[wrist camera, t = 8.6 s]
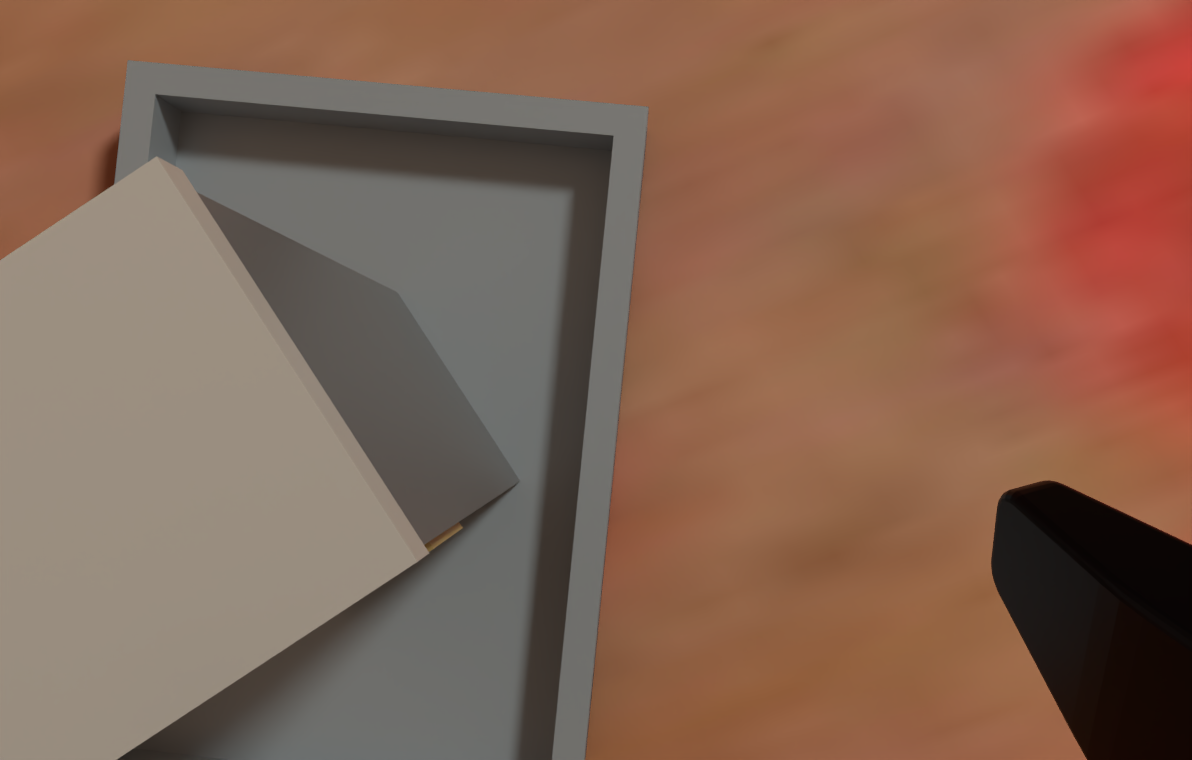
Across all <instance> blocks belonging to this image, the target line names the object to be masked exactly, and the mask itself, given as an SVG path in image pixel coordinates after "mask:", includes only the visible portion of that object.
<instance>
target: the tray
mask: <svg viewBox="0 0 1192 760" xmlns="http://www.w3.org/2000/svg"><path fill="white" fill-rule="evenodd" d="M648 108H649V107H644V106H633V105H622V104H611V103H599V102H588V101H577V100H566V99H555V98H544V97H532V96H521V95H510V94H499V93H488V92H476V91H465V90H454V89H443V88H432V87H420V86H409V85H398V84H387V83H376V82H364V81H353V80H342V79H331V78H320V77H308V76H297V75H286V74H275V73H264V72H252V71H241V70H230V69H219V68H208V67H196V66H185V65H174V64H163V63H152V62H140V61H129V60H128V64H127V73H126V82H125V91H124V100H123V109H122V118H121V127H120V136H119V146H118V155H117V164H116V173H115V182H114V184H116V183H117V182H119V181H120V180H122V179H123V178H125V177H126V176H128V175H129V174H131V173H132V172H134V171H135V170H137V169H138V168H140V167H141V166H143V165H144V164H146V163H147V162H149V161H150V160H152V159H153V158H155V157H156V156H157V157H159V158H161V159H163V160H164V161H166V162H168V163H170V164H172V165H174V166H176V167H178V168H179V169H181V170H183V172H184V173H185V175H186V177H187V178H188V180H189V181H190V183H191V184H192V186H193V187H194V189H195V191H196V192H198V193H200V194H202V195H204V196H206V197H208V198H210V199H212V200H214V201H216V202H218V203H220V204H222V205H224V206H226V207H228V208H230V209H232V210H234V211H236V212H238V213H240V214H242V215H244V216H246V217H248V218H250V219H252V220H254V221H256V222H258V223H260V224H262V225H264V226H266V227H268V228H270V229H272V230H274V231H276V232H278V233H280V234H282V235H284V236H286V237H288V238H290V239H292V240H294V241H296V242H298V243H300V244H302V245H304V246H306V247H308V248H310V249H312V250H314V251H316V252H318V253H320V254H322V255H324V256H326V257H328V258H330V259H332V260H334V261H336V262H338V263H340V264H342V265H344V266H346V267H348V268H350V269H352V270H354V271H356V272H358V273H360V274H362V275H364V276H366V277H368V278H370V279H372V280H374V281H376V282H378V283H380V284H382V285H384V286H386V287H388V288H390V289H392V290H394V291H396V292H398V294H399V295H400V297H401V298H402V300H403V302H404V303H405V305H406V306H407V308H408V309H409V311H410V312H411V314H412V315H413V317H414V318H415V320H416V322H417V323H418V325H419V326H420V328H421V329H422V331H423V332H424V334H425V335H426V337H427V338H428V340H429V341H430V343H431V345H432V346H433V348H434V349H435V351H436V352H437V354H438V355H439V357H440V358H441V360H442V361H443V363H444V365H445V366H446V368H447V369H448V371H449V372H450V374H451V375H452V377H453V378H454V380H455V381H456V383H457V384H458V386H459V388H460V389H461V391H462V392H463V394H464V395H465V397H466V398H467V400H468V401H469V403H470V404H471V406H472V408H473V409H474V411H475V412H476V414H477V415H478V417H479V418H480V420H481V421H482V423H483V424H484V426H485V427H486V429H487V431H488V432H489V434H490V435H491V437H492V438H493V440H494V441H495V443H496V444H497V446H498V447H499V449H500V451H501V452H502V454H503V455H504V457H505V458H506V460H507V461H508V463H509V464H510V466H511V467H512V469H513V471H514V472H515V474H516V475H517V477H518V478H519V480H520V482H518V483H517V484H515V485H514V486H512V487H511V488H509V489H508V490H506V491H505V492H503V493H502V494H500V495H499V496H497V497H496V498H494V499H493V500H491V501H490V502H488V503H487V504H485V505H483V506H482V507H480V508H479V509H477V510H476V511H474V512H473V513H471V514H470V515H468V516H467V517H465V518H464V519H462V520H461V521H459V523H460V524H461V526H462V527H463V528H462V529H461V530H459V531H458V532H456V533H455V534H454V535H452V536H451V537H449V538H448V539H447V540H445V541H444V542H442V543H441V544H440V545H438V546H437V547H435V548H434V549H433V550H431V551H430V552H429V554H428V555H426V556H425V557H424V558H422V559H421V560H419V561H418V562H417V563H415V564H413V565H412V566H410V567H409V568H407V569H406V570H404V571H403V572H401V573H400V574H398V575H397V576H395V577H394V578H392V579H391V580H389V581H388V582H386V583H385V584H383V585H382V586H380V587H378V588H377V589H375V590H374V591H372V592H371V593H369V594H368V595H366V596H365V597H363V598H362V599H360V600H359V601H357V602H356V603H354V604H353V605H351V606H350V607H348V608H347V609H345V610H343V611H342V612H340V613H339V614H337V615H336V616H334V617H333V618H331V619H330V620H328V621H327V622H325V623H324V624H322V625H321V626H319V627H318V628H316V629H315V630H313V631H311V632H310V633H308V634H307V635H305V636H304V637H302V638H301V639H299V640H298V641H296V642H295V643H293V644H292V645H290V646H289V647H287V648H286V649H284V650H283V651H281V652H280V653H278V654H276V655H275V656H273V657H272V658H270V659H269V660H267V661H266V662H264V663H263V664H261V665H260V666H258V667H257V668H255V669H254V670H252V671H251V672H249V673H248V674H246V675H245V676H243V677H241V678H240V679H238V680H237V681H235V682H234V683H232V684H231V685H229V686H228V687H226V688H225V689H223V690H222V691H220V692H219V693H217V694H216V695H214V696H213V697H211V698H210V699H208V700H206V701H205V702H203V703H202V704H200V705H199V706H197V707H196V708H194V709H193V710H191V711H190V712H188V713H187V714H185V715H184V716H182V717H181V718H179V719H178V720H176V721H175V722H173V723H171V724H170V725H168V726H167V727H165V728H164V729H162V730H161V731H159V732H158V733H156V734H155V735H153V736H152V737H150V738H149V739H147V740H146V741H144V742H143V743H141V744H140V745H138V746H136V747H135V748H133V749H132V750H130V751H129V752H127V753H126V754H124V755H123V756H121V757H120V758H118V759H117V760H585V757H586V747H587V737H588V726H589V716H590V706H591V696H592V686H593V676H594V665H595V655H596V645H597V635H598V625H599V615H600V604H601V594H602V584H603V574H604V564H605V554H606V543H607V533H608V523H609V513H610V503H611V493H612V482H613V472H614V462H615V452H616V442H617V432H618V421H619V411H620V401H621V391H622V381H623V371H624V361H625V350H626V340H627V330H628V320H629V310H630V300H631V289H632V279H633V269H634V259H635V249H636V239H637V228H638V218H639V208H640V198H641V188H642V178H643V167H644V157H645V147H646V137H647V124H648Z"/></svg>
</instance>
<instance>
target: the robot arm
mask: <svg viewBox="0 0 1192 760" xmlns="http://www.w3.org/2000/svg"><path fill="white" fill-rule="evenodd" d="M991 567H992V575H993V579H994V582H995V585H996V588H997V590H998V592H999V595H1000V597H1001V598H1002V600H1003V602H1004V604H1005V606H1006V608H1007V610H1008V612H1009V614H1010V616H1011V617H1012V619H1013V621H1014V623H1015V625H1016V627H1017V629H1018V631H1019V633H1020V635H1021V637H1022V638H1023V640H1024V642H1025V644H1026V646H1027V648H1028V650H1029V652H1030V654H1031V656H1032V657H1033V659H1034V661H1035V663H1036V665H1037V667H1038V669H1039V671H1040V673H1041V675H1042V677H1043V678H1044V680H1045V682H1046V684H1047V686H1048V688H1049V690H1050V692H1051V694H1052V696H1053V698H1054V699H1055V701H1056V703H1057V705H1058V707H1059V709H1060V711H1061V713H1062V715H1063V717H1064V718H1065V720H1066V722H1067V724H1068V726H1069V728H1070V730H1071V732H1072V733H1073V735H1074V737H1075V739H1076V741H1077V742H1078V744H1079V746H1080V748H1081V750H1082V751H1083V753H1084V755H1085V757H1086V758H1087V760H1192V545H1191V544H1189V543H1187V542H1185V541H1182V540H1180V539H1178V538H1176V537H1174V536H1172V535H1170V534H1168V533H1165V532H1163V531H1161V530H1159V529H1157V528H1155V527H1153V526H1151V525H1148V524H1146V523H1144V522H1142V521H1140V520H1138V519H1136V518H1134V517H1131V516H1129V515H1127V514H1125V513H1123V512H1121V511H1119V510H1117V509H1114V508H1112V507H1110V506H1108V505H1106V504H1104V503H1102V502H1100V501H1097V500H1095V499H1093V498H1091V497H1089V496H1087V495H1085V494H1083V493H1081V492H1078V491H1076V490H1074V489H1072V488H1070V487H1068V486H1066V485H1064V484H1061V483H1058V482H1055V481H1041V482H1037V483H1033V484H1030V485H1026V486H1022V487H1019V488H1015V489H1011V490H1008V491H1007V492H1005V493H1004V494H1003V495H1002V496H1001V498H1000V499H999V501H998V506H997V513H996V523H995V532H994V541H993V550H992V559H991Z"/></svg>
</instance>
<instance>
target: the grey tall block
mask: <svg viewBox="0 0 1192 760" xmlns="http://www.w3.org/2000/svg"><path fill="white" fill-rule="evenodd" d="M518 482H520V480H519V478H518V477H517V475H516V474H515V472H514V471H513V469H512V467H511V466H510V464H509V463H508V461H507V460H506V458H505V457H504V455H503V454H502V452H501V451H500V449H499V447H498V446H497V444H496V443H495V441H494V440H493V438H492V437H491V435H490V434H489V432H488V431H487V429H486V427H485V426H484V424H483V423H482V421H481V420H480V418H479V417H478V415H477V414H476V412H475V411H474V409H473V408H472V406H471V404H470V403H469V401H468V400H467V398H466V397H465V395H464V394H463V392H462V391H461V389H460V388H459V386H458V384H457V383H456V381H455V380H454V378H453V377H452V375H451V374H450V372H449V371H448V369H447V368H446V366H445V365H444V363H443V361H442V360H441V358H440V357H439V355H438V354H437V352H436V351H435V349H434V348H433V346H432V345H431V343H430V341H429V340H428V338H427V337H426V335H425V334H424V332H423V331H422V329H421V328H420V326H419V325H418V323H417V322H416V320H415V318H414V317H413V315H412V314H411V312H410V311H409V309H408V308H407V306H406V305H405V303H404V302H403V300H402V298H401V297H400V295H399V294H398V292H396V291H394V290H392V289H390V288H388V287H386V286H384V285H382V284H380V283H378V282H376V281H374V280H372V279H370V278H368V277H366V276H364V275H362V274H360V273H358V272H356V271H354V270H352V269H350V268H348V267H346V266H344V265H342V264H340V263H338V262H336V261H334V260H332V259H330V258H328V257H326V256H324V255H322V254H320V253H318V252H316V251H314V250H312V249H310V248H308V247H306V246H304V245H302V244H300V243H298V242H296V241H294V240H292V239H290V238H288V237H286V236H284V235H282V234H280V233H278V232H276V231H274V230H272V229H270V228H268V227H266V226H264V225H262V224H260V223H258V222H256V221H254V220H252V219H250V218H248V217H246V216H244V215H242V214H240V213H238V212H236V211H234V210H232V209H230V208H228V207H226V206H224V205H222V204H220V203H218V202H216V201H214V200H212V199H210V198H208V197H206V196H204V195H202V194H200V193H198V192H196V191H195V189H194V187H193V186H192V184H191V183H190V181H189V180H188V178H187V177H186V175H185V173H184V172H183V170H181V169H179V168H178V167H176V166H174V165H172V164H170V163H168V162H166V161H164V160H163V159H161V158H159V157H157V156H156V157H155V158H153V159H152V160H150V161H149V162H147V163H146V164H144V165H143V166H141V167H140V168H138V169H137V170H135V171H134V172H132V173H131V174H129V175H128V176H126V177H125V178H123V179H122V180H120V181H119V182H117V183H116V184H114V185H113V186H111V187H110V188H108V189H107V190H105V191H104V192H102V193H101V194H99V195H98V196H96V197H95V198H93V199H92V200H90V201H89V202H87V203H86V204H84V205H83V206H81V207H80V208H78V209H77V210H75V211H74V212H72V213H71V214H69V215H68V216H66V217H65V218H63V219H62V220H60V221H59V222H57V223H56V224H54V225H53V226H51V227H50V228H48V229H47V230H45V231H44V232H42V233H41V234H39V235H38V236H36V237H34V238H33V239H31V240H30V241H28V242H27V243H25V244H24V245H22V246H21V247H19V248H18V249H16V250H15V251H13V252H12V253H10V254H9V255H7V256H6V257H4V258H3V259H1V260H0V760H117V759H118V758H120V757H121V756H123V755H124V754H126V753H127V752H129V751H130V750H132V749H133V748H135V747H136V746H138V745H140V744H141V743H143V742H144V741H146V740H147V739H149V738H150V737H152V736H153V735H155V734H156V733H158V732H159V731H161V730H162V729H164V728H165V727H167V726H168V725H170V724H171V723H173V722H175V721H176V720H178V719H179V718H181V717H182V716H184V715H185V714H187V713H188V712H190V711H191V710H193V709H194V708H196V707H197V706H199V705H200V704H202V703H203V702H205V701H206V700H208V699H210V698H211V697H213V696H214V695H216V694H217V693H219V692H220V691H222V690H223V689H225V688H226V687H228V686H229V685H231V684H232V683H234V682H235V681H237V680H238V679H240V678H241V677H243V676H245V675H246V674H248V673H249V672H251V671H252V670H254V669H255V668H257V667H258V666H260V665H261V664H263V663H264V662H266V661H267V660H269V659H270V658H272V657H273V656H275V655H276V654H278V653H280V652H281V651H283V650H284V649H286V648H287V647H289V646H290V645H292V644H293V643H295V642H296V641H298V640H299V639H301V638H302V637H304V636H305V635H307V634H308V633H310V632H311V631H313V630H315V629H316V628H318V627H319V626H321V625H322V624H324V623H325V622H327V621H328V620H330V619H331V618H333V617H334V616H336V615H337V614H339V613H340V612H342V611H343V610H345V609H347V608H348V607H350V606H351V605H353V604H354V603H356V602H357V601H359V600H360V599H362V598H363V597H365V596H366V595H368V594H369V593H371V592H372V591H374V590H375V589H377V588H378V587H380V586H382V585H383V584H385V583H386V582H388V581H389V580H391V579H392V578H394V577H395V576H397V575H398V574H400V573H401V572H403V571H404V570H406V569H407V568H409V567H410V566H412V565H413V564H415V563H417V562H418V561H419V560H421V559H422V558H424V557H425V556H426V555H428V554H429V552H430V551H431V550H433V549H434V548H435V547H437V546H438V545H440V544H441V543H442V542H444V541H445V540H447V539H448V538H449V537H451V536H452V535H454V534H455V533H456V532H458V531H459V530H461V529H462V528H463V527H462V526H461V524H460V523H459V521H461V520H462V519H464V518H465V517H467V516H468V515H470V514H471V513H473V512H474V511H476V510H477V509H479V508H480V507H482V506H483V505H485V504H487V503H488V502H490V501H491V500H493V499H494V498H496V497H497V496H499V495H500V494H502V493H503V492H505V491H506V490H508V489H509V488H511V487H512V486H514V485H515V484H517V483H518Z"/></svg>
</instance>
